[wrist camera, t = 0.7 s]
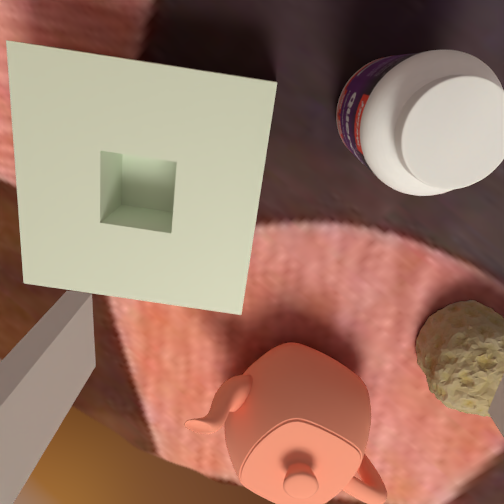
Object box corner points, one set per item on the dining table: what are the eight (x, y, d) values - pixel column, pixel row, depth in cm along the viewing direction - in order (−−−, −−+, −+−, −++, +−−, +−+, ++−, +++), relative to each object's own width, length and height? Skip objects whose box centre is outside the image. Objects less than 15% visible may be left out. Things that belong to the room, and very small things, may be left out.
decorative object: (396, 338, 46) (428, 435, 41) (418, 295, 38) (462, 408, 33) (480, 326, 46) (524, 421, 41) (520, 279, 38) (582, 391, 32)
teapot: (238, 289, 41) (226, 370, 30) (403, 382, 44) (447, 485, 33) (175, 383, 46) (143, 483, 34) (328, 460, 49) (345, 574, 38)
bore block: (50, 46, 33) (6, 40, 28) (276, 81, 34) (277, 82, 28) (57, 254, 40) (23, 283, 35) (245, 282, 41) (241, 315, 35)
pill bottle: (319, 85, 34) (350, 92, 20) (418, 37, 32) (522, 9, 19) (354, 177, 36) (402, 236, 23) (448, 137, 35) (557, 174, 21)
